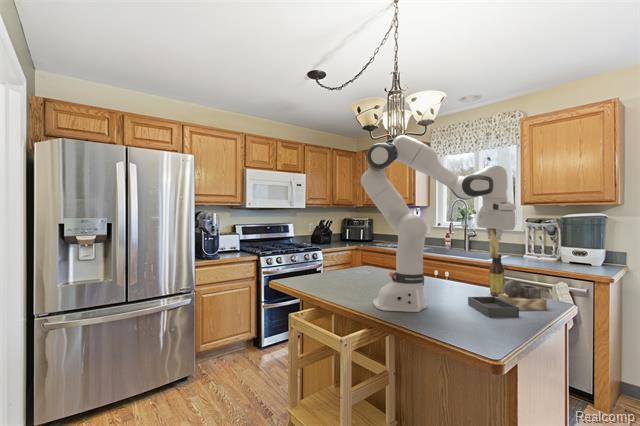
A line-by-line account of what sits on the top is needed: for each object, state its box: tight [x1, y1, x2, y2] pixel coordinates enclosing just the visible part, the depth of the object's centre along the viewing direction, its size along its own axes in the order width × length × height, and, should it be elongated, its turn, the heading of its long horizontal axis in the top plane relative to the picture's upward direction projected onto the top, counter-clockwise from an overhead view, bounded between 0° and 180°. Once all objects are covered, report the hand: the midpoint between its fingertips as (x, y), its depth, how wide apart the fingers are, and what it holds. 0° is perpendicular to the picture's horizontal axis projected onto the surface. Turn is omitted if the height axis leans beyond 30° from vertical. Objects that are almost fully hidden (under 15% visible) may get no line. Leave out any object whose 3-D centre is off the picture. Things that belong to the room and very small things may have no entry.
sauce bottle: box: [489, 253, 506, 297], centre depth 149 cm, size 6×6×20 cm
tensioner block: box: [497, 279, 548, 311], centre depth 132 cm, size 14×10×11 cm
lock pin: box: [489, 229, 499, 259], centre depth 127 cm, size 3×3×12 cm
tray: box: [467, 295, 520, 318], centre depth 127 cm, size 16×12×4 cm
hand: (494, 240), depth 126 cm, fingers closed on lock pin, 3 cm apart
